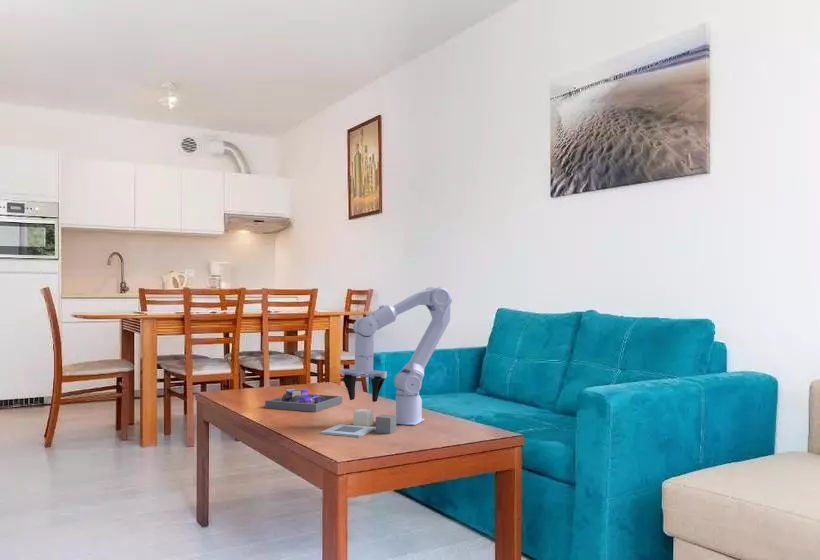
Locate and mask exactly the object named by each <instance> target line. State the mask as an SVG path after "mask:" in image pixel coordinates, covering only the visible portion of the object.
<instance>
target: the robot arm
mask: <svg viewBox="0 0 820 560" xmlns="http://www.w3.org/2000/svg"><path fill="white" fill-rule="evenodd" d="M452 301H453V299H452V296H451V294H450V292H449V290H448V289H447V288H446V287H442V286H439V287H433V286H431V287H430V286H429V287H427V288H426V289H423V290H419V291H417V292H415V293H413V294H412V295H410V296H408V297H406V298H404V299H403V300H400V301H399V302H398V303H396V304H393V305H392V306H391V305H389V304H386V305H384V304H381V305H379V306H378V308H377V309H376V310H374V311H371V312H366V313H365V315H366V316H360V317H358V318H356V320H355V321H354V323H353V325H352V329H353V332H354V333H355V338H354V340H355V341H354V368H353V369H352V368H343V369H340V372H341V373H340V376H341V377H342V376H343V377H342V381H343V383H344V385H345V387H346V391H347V393H348V398H349V401H353V400H355V397H356V382H357V377H360V378H361V377H363V378H371V379H370V382H371V386H372V387H371V388H372V395H371V397H372V398H371V399H372V402H373V403H375V402H378V399H379V394H380V391H381V389H382V386H383V384H384V382H385V379H386V378H387V377H388V374H387V373H388V371H385V370H376V369H374V345H375V344H374V334H375V333H376V331H378V330H381V329H383V328H384V327H387V326H388V325H390V324H392V323H394V322H395V321H396V319H397V316H399V315H401V314H403V313H405V312H407V311H410V310H411V309H413V308H415V307H418V306H426V308H427V309H428V311H429V313H430V316H431V320H430V322H429V324H428V326H427V328H426V330H425V331H424V334H423V335H422V338H421V339H420V341H419V343H418V344H417V347H416V348H415V350H414V352H413V354H412V356H411V358H410V359H409V361H408V362H407V363H405V365H404V366H403V367H402V368H401V370H400V371H399V372H397V373H396V374H395V376H394V379H393V385H394V387H395V388H396V389H397V390H396V392H395V415H396V425H405V426H406V425H408V426H416V425H418V424H421V423H422V422H424V421H425V418H423V414H422V413H423V400H422V397H421V396H420V390H421V389H422V384H423V382H422V381H423V379H424V377H425V369H426V368H425V367H426V366H427V364H428V363H429V360H430V359H431V357H432V356H433V353H434V351H435V349H436V347H437V346H438V344H439V342H440V340H441V338H442V337H443V335H444V332H445V331H446V329H447V327H448V325H449V323H450V320H451V305H452Z"/></svg>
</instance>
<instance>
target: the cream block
mask: <svg viewBox="0 0 820 560" xmlns="http://www.w3.org/2000/svg"><path fill="white" fill-rule="evenodd" d="M352 415H353V416H352V417H353V418H352V421H353V424H352V425H357V426H368V427H372V426H373V425H374V409H368V408H367V409H366V408H358V409H356V410H353V413H352Z"/></svg>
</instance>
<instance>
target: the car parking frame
mask: <svg viewBox="0 0 820 560" xmlns="http://www.w3.org/2000/svg"><path fill="white" fill-rule="evenodd" d="M309 394H310V393H308V395H309ZM313 394H314V393H313ZM314 395H316V396H322V397H324V398H325V401H323V402H320V403H316V404H315V403H314V404H308V403H295V402H282V397H283V395H282V396H278V397H274V398H270V399H267V400H265V405H264V408H265V409H275V410H286V411H287V410H289V411H298V412H311V413H317V412H320V411H323V410H326V409H328V408H332V407H334V406H337V405H338V406H339V405H340V404H343V396H342V395H330V394H329V395H327V394H316V393H315V394H314Z"/></svg>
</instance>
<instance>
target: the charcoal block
mask: <svg viewBox="0 0 820 560" xmlns="http://www.w3.org/2000/svg"><path fill="white" fill-rule="evenodd" d="M375 427H376V430H375V433H376V434H386V435H388V434H389V435H391V434H393V433H395V432H397V424H396V414H382V413H381V414H380V415H377V416H375Z"/></svg>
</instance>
